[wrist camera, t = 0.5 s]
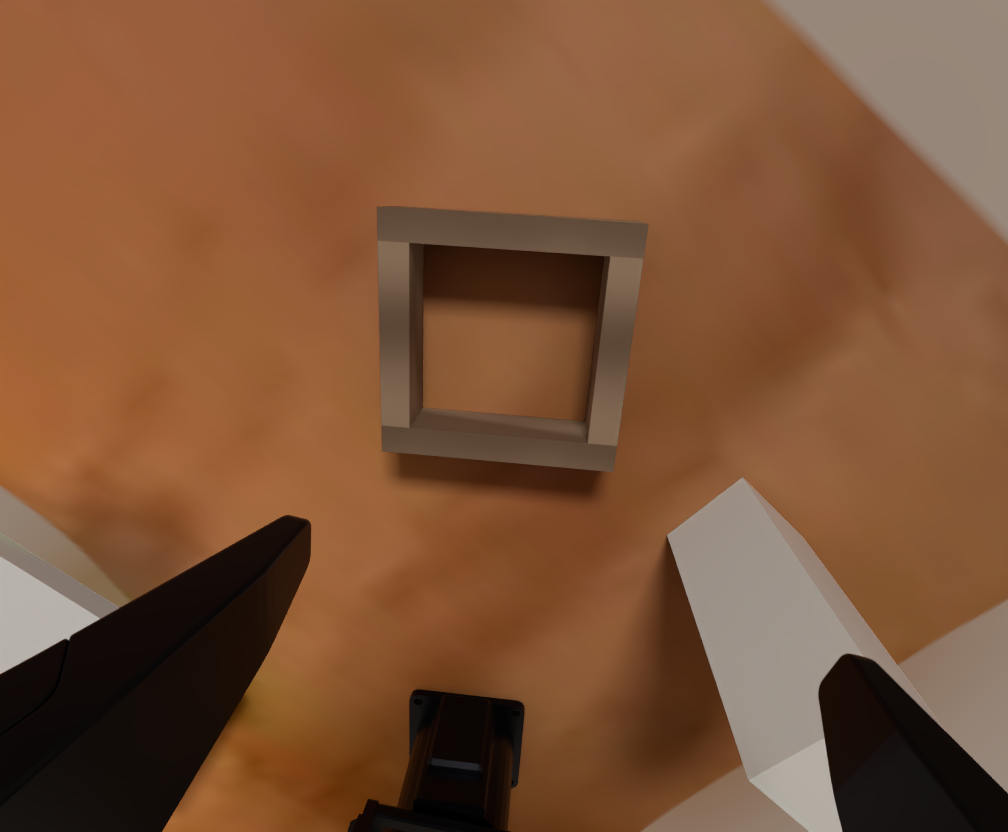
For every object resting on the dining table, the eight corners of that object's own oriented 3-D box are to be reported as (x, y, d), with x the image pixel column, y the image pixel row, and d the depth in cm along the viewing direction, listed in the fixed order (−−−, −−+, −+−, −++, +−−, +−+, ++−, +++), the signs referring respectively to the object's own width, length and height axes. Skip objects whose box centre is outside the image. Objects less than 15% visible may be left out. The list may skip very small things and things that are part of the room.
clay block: (727, 591, 28) (846, 863, 17) (667, 534, 27) (748, 780, 16) (803, 538, 27) (992, 794, 15) (742, 477, 26) (892, 699, 14)
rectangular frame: (607, 448, 26) (613, 472, 24) (397, 429, 27) (382, 451, 24) (638, 221, 23) (648, 223, 20) (394, 206, 23) (376, 206, 21)
